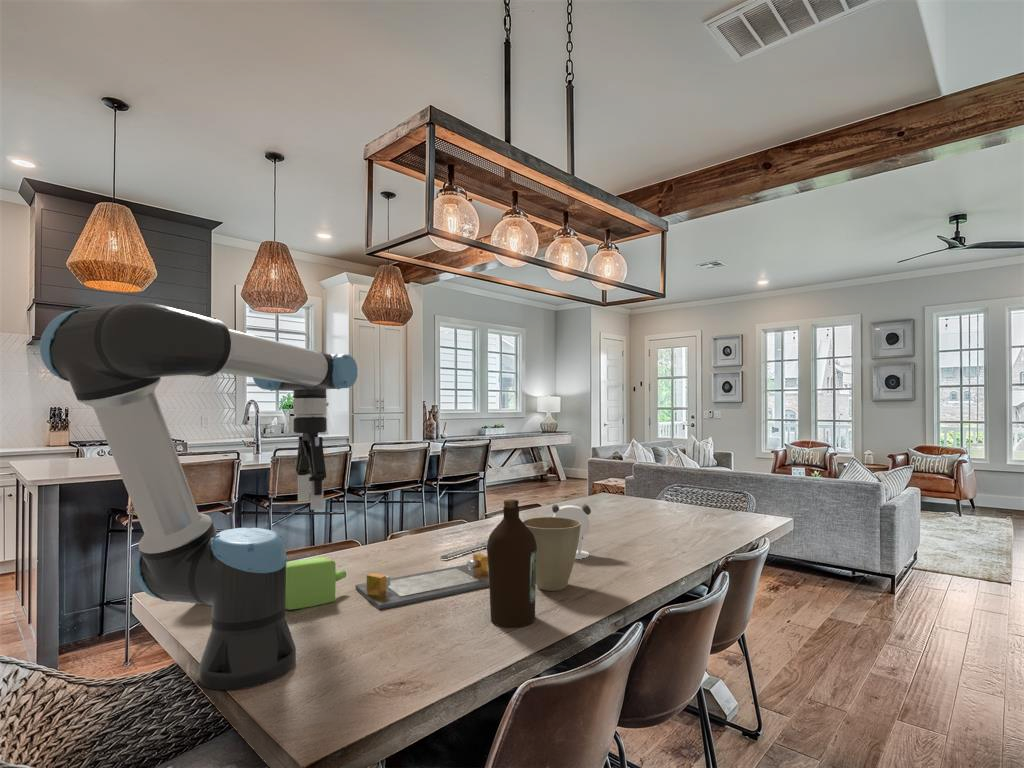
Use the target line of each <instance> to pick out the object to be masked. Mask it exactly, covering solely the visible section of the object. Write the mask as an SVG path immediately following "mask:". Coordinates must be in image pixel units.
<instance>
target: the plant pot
mask: <svg viewBox="0 0 1024 768" xmlns="http://www.w3.org/2000/svg"><path fill="white" fill-rule="evenodd" d="M521 521H522V522H523V523H524V524H525V525H526V526H527V527H528V528H529V529H530V530H531V532H532V533H533V535H534V537H535V540H536V544H537V559H536V588H537V589H540V590H542V591H547V592H556V591H557V592H558V591H561V590H565V589H566V588H567V585H568V582H569V580H570V577H571V574H572V570H573V568H574V564H575V561H576V560H575V556H576V552H577V547H578V542H579V535H580V527H581V523H580V522H579V521H577V520H574V519H569V518H560V517H553V516H538V517H531V518H527V519H524V520H521Z"/></svg>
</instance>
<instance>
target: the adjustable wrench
mask: <svg viewBox="0 0 1024 768" xmlns="http://www.w3.org/2000/svg"><path fill="white" fill-rule="evenodd" d="M487 543H488V539H484V540H481V541H477V543H476V544H475V545H472V546H471V545H470V546H469V547H465V548H462V549H458V550H455V551H452V552H448V553H446V554H443V555H440V560H441V559H448V558H451V557H454V556H457V555H460V554H463V553H466V552H469V551H472V550H475V549H479V548H482V547H487Z"/></svg>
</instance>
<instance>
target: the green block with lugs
mask: <svg viewBox="0 0 1024 768" xmlns="http://www.w3.org/2000/svg"><path fill="white" fill-rule="evenodd" d="M336 570H337V569H336V562H335V560H333V559H331V558H328V557H324V556H322V557H313V558H305V559H299V560H293V561H287V562H286V603H285V610H288V611H289V610H297V609H304V608H308V607H309V608H310V607H315V606H319V605H324V604H328V603H333V602H335V601H336V582H338V581H341V580H342V579H345V578H346V577H347V572H346V570H345V569H340V570H337V571H336Z"/></svg>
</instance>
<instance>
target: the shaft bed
mask: <svg viewBox="0 0 1024 768" xmlns="http://www.w3.org/2000/svg"><path fill="white" fill-rule="evenodd" d="M484 588H489V573H488V558H487V555H485V554H482V553H479V552H478V553H473V554H472V559H471V560H467V562H466V564H464V565H458V566H456V565H455V566H452V567H448V568H447V567H446V568H440V569H437V570H436V569H434V570H430V571H426V572H419V573H413V574H408V575H402V576H396V577H391V575H385V574H379V573H374V572H373V573H369V574H366V582H364V583H359V584H355V590H356V591H357V592H358V591H359V593H360V594H361V595H362V596H363V597H364V598H365V600H368V601H369V602H370V603H371V604H372V605H373V606H374V607H376V609H378V610H385V609H390V608H395V607H400V606H405V605H409V604H414V603H419V602H423V601H428V600H433V599H434V600H435V599H437V598H441V597H442V598H443V597H447V596H453V595H457V594H461V593H466V592H470V591H471V592H472V591H476V590H480V589H484Z"/></svg>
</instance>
